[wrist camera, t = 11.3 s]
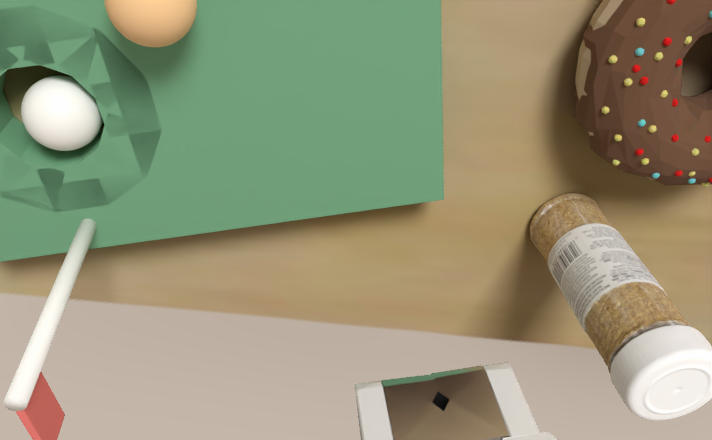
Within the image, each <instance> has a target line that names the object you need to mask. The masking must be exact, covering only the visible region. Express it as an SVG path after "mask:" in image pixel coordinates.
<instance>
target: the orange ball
mask: <svg viewBox="0 0 712 440" xmlns="http://www.w3.org/2000/svg"><path fill="white" fill-rule="evenodd" d="M104 2H105V8H106V11H107V14H108V16H109V18H110V20H111V22H112V23H113V25H114V26H115V28H116V29H117V30H118V31H119V32H120V33H121V34H122V35H123V36H124V37H126V38H127V39H129V40H130V41H132V42H134V43H136V44H139V45H142V46H146V47H164V46H168V45H171V44H173V43H175V42H177V41H178V40H180V39H181V38H183V37H184V36H185V35H186V34H187V32H188V31H189V30H190V28H191V26H192V25H193V23H194V20H195V17H196V11H197V0H104Z"/></svg>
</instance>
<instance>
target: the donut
mask: <svg viewBox="0 0 712 440" xmlns="http://www.w3.org/2000/svg"><path fill="white" fill-rule="evenodd" d="M711 32H712V0H603V1H602V2H601V4H600V5H599V7H598V8H597V10H596V11H595V13H594V14H593V16H592V18H591V21H590V23H589V26H588V28H587V29H586V31H585V32H584V34H583V37H584V39H583V41H582V44H581V46H580V49H579V56H578V63H577V71H576V78H575V83H576V91H575V93H574V98H575V105H576V110H575V114H574V117H575V119H576V120H577V122H578V123H579V124H580V125H581V126H582V127H584V128H585V129H586V130H587V131H588V133H589V135H590V146H591V149H593V150H594V151H595V152H596V153H597V154H598V155H600V156H601V157H603V158H604V159H606V160H607V161H609V162H610V163H611V164H613V165H614V166H616V167H617V168H619V169H621V170H623V171H625V172H628V173H632V174H636V175H640V176H644V177H646V178H648V179H651V180H656V181H658V182H660V183H662V184H664V185H686V184H702V186H704V187H706V186H708V185H709V184H712V89H711V90H708V91H706V92H704V93H702V94H700V95H698V96H692V97H687V96H681V86H682V67H683V59H684V57H685V56H686V54H687V52H688V51H689V49H690V48H691V47H692V46H693V44H694V43H695V42H696V41H697V40H698V38H699V37H702V36H704V35H706V34H709V33H711Z"/></svg>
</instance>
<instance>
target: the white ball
mask: <svg viewBox="0 0 712 440" xmlns="http://www.w3.org/2000/svg"><path fill="white" fill-rule="evenodd" d="M21 116H22V121H23V123H24V126H25V128H26V130H27V131H28V133H29V134H30V135H31V136H32V137H33V138H34V139H35V140H36V141H37V142H39V143H40V144H42V145H43V146H45V147H48V148H50V149H54V150H59V151H70V150H76V149H79V148H81V147H84V146H85V145H87V144H89V143H90V142H91V141H92V140H93V139H94V138H95V137H96V136H97V134H98V133H99V131H100V128H101V125H102V121H103V119H102V116H101V113H100V110H99V107H98V105H97V102H96V99H95V97H93V96H92V95H91V94H90V93H89V92H88V91H87V90H86V89H85V88H84V87H83V86H82V85H81V84H80V83H79V82H77V81H76V80H75V79H74V78H72V77H69V76H58V75H57V76H50V77H46V78H43V79H41V80H39V81H38V82H36V83H35V84H33V85H32V86H31V87H30V88H29V89H28V91H27V92H26V94H25V96H24V98H23V101H22V105H21Z"/></svg>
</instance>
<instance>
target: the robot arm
mask: <svg viewBox="0 0 712 440" xmlns="http://www.w3.org/2000/svg"><path fill="white" fill-rule="evenodd" d="M355 391H356V400H357V407H358V418H359V426H360V435H361V440H558V439H557V438H555V437H554V436H553V435H552V434H550V433H549V432H548V431H547V432H539V429H538V427H537V425H536V422H535V420H534V418H533V415H532V413H531V411H530V408H529V406H528V404H527V401H526V399H525V397H524V395H523V392H522V390H521V387H520V385H519V383H518V380H517V378H516V376H515V373H514V371H513V369H512V366H511V365H510V364H509V363H500V364H493V365H486V366H482V367H481V366H476V367H470V368H464V369H458V370H452V371H446V372H439V373H432V374H431V375H424V376H415V377H407V378H399V379H390V380H382V381H375V382H368V383H360V384H355Z"/></svg>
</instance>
